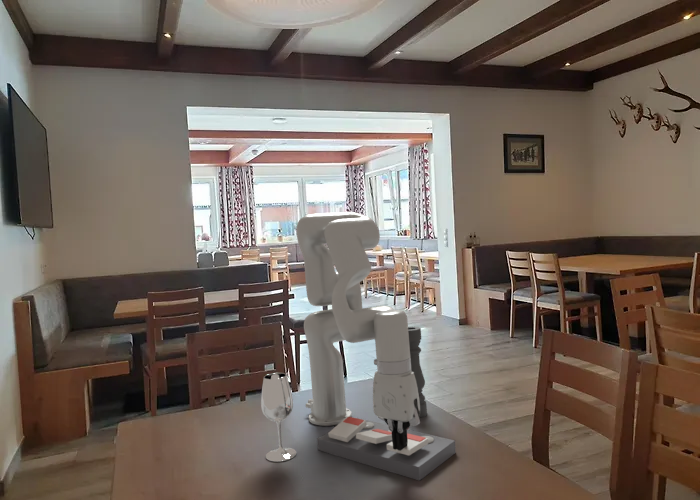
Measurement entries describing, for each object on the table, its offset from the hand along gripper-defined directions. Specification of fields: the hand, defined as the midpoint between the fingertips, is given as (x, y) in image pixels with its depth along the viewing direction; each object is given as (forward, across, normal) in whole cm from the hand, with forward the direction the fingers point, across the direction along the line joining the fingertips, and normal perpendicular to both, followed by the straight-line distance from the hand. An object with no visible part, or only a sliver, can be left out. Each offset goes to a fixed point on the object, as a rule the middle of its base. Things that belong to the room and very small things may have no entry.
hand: (400, 447), depth 118 cm
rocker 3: (+1, -1, +4) cm, 4 cm away
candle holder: (+5, -17, +32) cm, 36 cm away
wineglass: (+5, -31, -9) cm, 32 cm away
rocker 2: (0, -10, +4) cm, 10 cm away
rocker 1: (0, -19, +4) cm, 19 cm away
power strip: (+5, -12, +7) cm, 15 cm away
